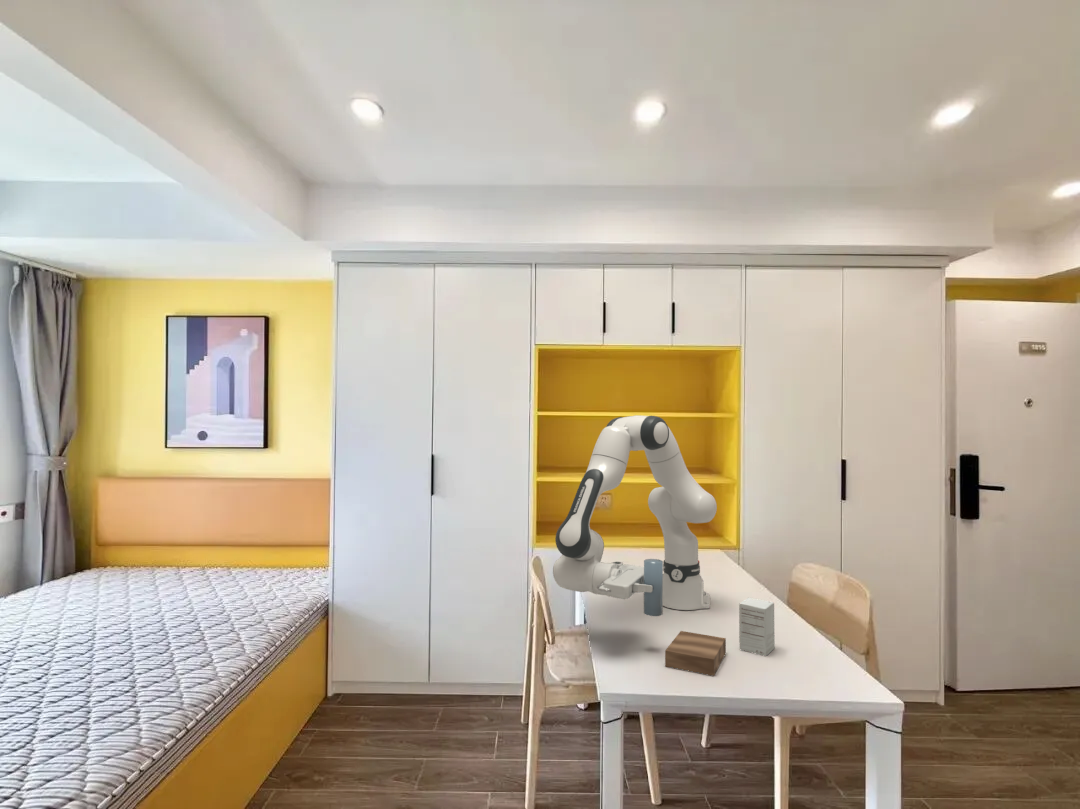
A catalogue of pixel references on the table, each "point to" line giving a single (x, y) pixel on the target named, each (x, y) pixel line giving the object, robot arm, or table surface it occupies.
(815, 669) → the table surface
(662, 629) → the table surface
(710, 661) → the plate
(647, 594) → the slate cylinder
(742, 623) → the supplement box
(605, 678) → the table surface
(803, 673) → the table surface
